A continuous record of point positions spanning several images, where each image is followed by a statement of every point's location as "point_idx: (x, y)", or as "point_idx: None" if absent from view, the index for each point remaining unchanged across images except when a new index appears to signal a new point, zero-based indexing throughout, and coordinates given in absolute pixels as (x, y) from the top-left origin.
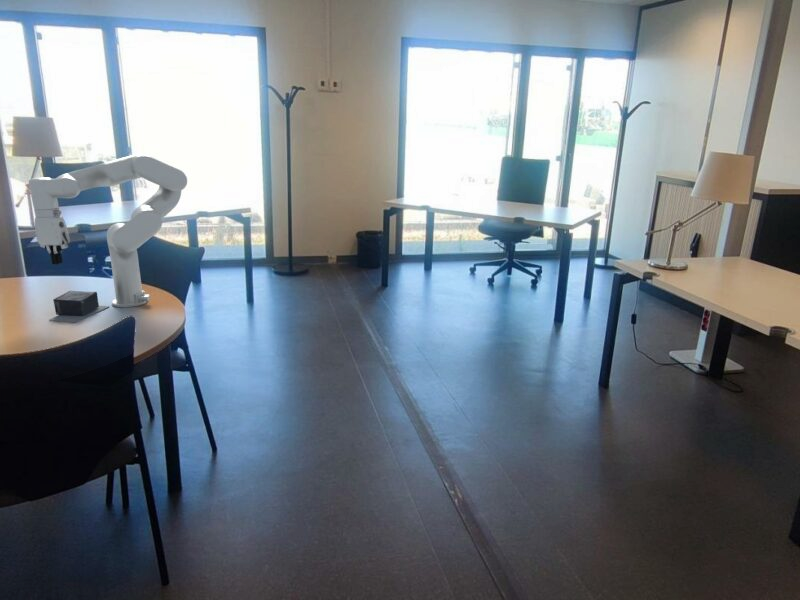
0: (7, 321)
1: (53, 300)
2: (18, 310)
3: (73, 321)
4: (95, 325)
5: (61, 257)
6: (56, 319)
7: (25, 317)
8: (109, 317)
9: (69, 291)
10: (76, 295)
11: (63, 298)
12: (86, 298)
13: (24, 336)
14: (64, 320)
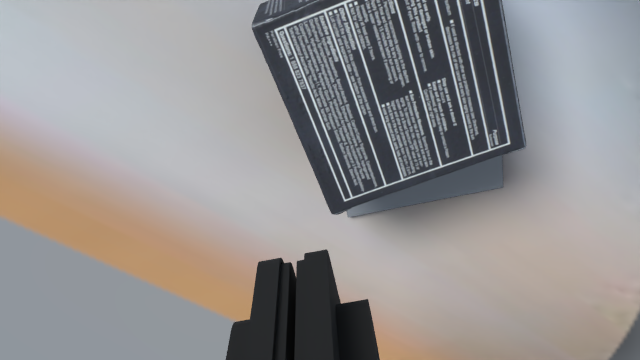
0: (184, 295)
1: (334, 212)
2: (40, 184)
3: (490, 183)
4: (626, 160)
5: (374, 338)
6: (384, 201)
7: (196, 233)
8: (625, 36)
9: (270, 46)
10: (408, 89)
11: (377, 174)
12: (516, 88)
13: (425, 354)
14: (434, 192)
